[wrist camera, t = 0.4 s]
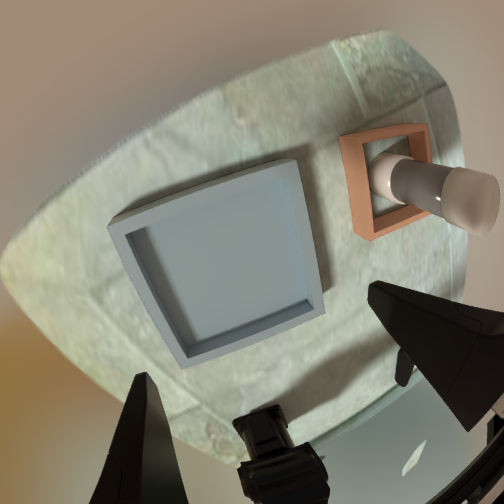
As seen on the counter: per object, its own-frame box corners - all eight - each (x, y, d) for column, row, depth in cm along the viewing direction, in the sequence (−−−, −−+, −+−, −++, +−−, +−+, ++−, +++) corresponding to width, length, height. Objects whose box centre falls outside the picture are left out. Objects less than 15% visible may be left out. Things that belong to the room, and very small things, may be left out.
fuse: (402, 190, 27) (498, 226, 16) (370, 202, 26) (470, 245, 15) (397, 149, 25) (500, 170, 14) (364, 157, 24) (473, 181, 13)
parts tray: (313, 299, 28) (325, 313, 26) (179, 351, 26) (181, 369, 24) (283, 157, 22) (296, 160, 20) (112, 217, 20) (106, 227, 18)
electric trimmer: (385, 380, 40) (396, 392, 37) (405, 303, 33) (421, 315, 30) (403, 371, 41) (413, 382, 38) (424, 294, 34) (439, 305, 31)
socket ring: (418, 206, 28) (434, 212, 26) (354, 232, 27) (369, 241, 24) (409, 123, 24) (427, 124, 22) (338, 136, 23) (355, 137, 20)
